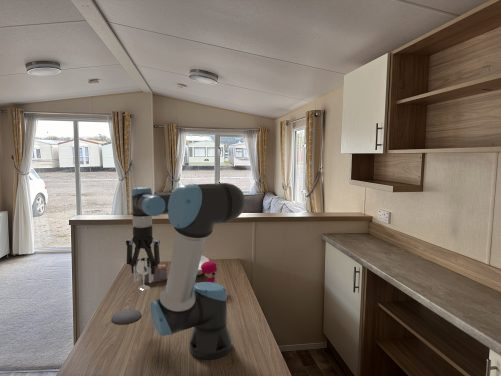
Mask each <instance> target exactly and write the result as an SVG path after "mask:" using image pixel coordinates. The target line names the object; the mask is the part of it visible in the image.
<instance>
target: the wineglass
mask: <svg viewBox="0 0 501 376" xmlns="http://www.w3.org/2000/svg"><path fill="white" fill-rule="evenodd" d="M149 267H150V263H149V259H148V257H140V258H138V259H137V263H136V271H137V273H138V275H141V279H142V278H143V283H142V285H140V286H139V287H138V288H137V290H139V291H146V290H148V289H150V286H149V285H146V284H145V283H144V279H145V276H144V275H146V274H148V273H149ZM142 275H143V276H142Z"/></svg>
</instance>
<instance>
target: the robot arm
mask: <svg viewBox="0 0 501 376" xmlns="http://www.w3.org/2000/svg"><path fill="white" fill-rule="evenodd" d="M131 204H132V207H131V210H132V225H133V227H132V239H131V238H130V239H127V240H126V241H125V244H126V264H127V265H130V266H131V274H133V283H136V282H138V281H139V274H138V273H137V271H136V263H137V260H138V259H139V255H140V252H141V249H143V250H144V251H145V252H146V256H147V258H148V259H149V263H150V267H149V283H148V284H151V283H153V282H152V281H153V274H155V266H157V265H160V263H161V260H160V259H161V258H160V257H161V256H160V244H161V243H160V242H161V241H160V240H156V239H154V237H153V225H152V224H153V217H158V216H160V215H162V214H167V217H168V221H169V223H170V224H171V226H172V228H173V230H174V231H175V232H176V236H175V240H174V245H173V250H172V254H171V261H170V265H169V266H170V267H169V270H168V274H167V279H166V286H165V287H164V288H162V290H161V291H160V294H159V298H158V299H154V300H152V301H151V302H150V306H149V307H150V315H151V319H152V323H153V326H154V329H155V331H156V333H157V334H158V335H160V336H162V337H165V336H170V335H171V336H172V335H174V334H177V333H180V332H182V331H186V330H188V329H191V328H193V329H192V333H191V336H190V340H189V344H188V347H189V352H190V354H191V355H193V357H195V358H198V359H203V360H214V359H215V360H216V359H219V358H222V357H224V356H226V355H227V354H228V353H230V351H231V349H232V338H231V334H230V331H229V329H228V327H227V323H228V322H227V315H228V314H227V307H228V306H227V304H228V303H227V301H228V296H227V295H228V294H227V290H226V288H225V286H223V285H222V284H219V283H217V282H214V283H212V282H207V281H202V282H197V283H196V280H197V276H198V275H197V272H198V268H199V263H200V259H201V255H202V254H203V250H204V247H205V242H206V238H208V237H210V236H211V235H212V234H213V230H214V226H215V224H220V223H227V222H231V221H234V220H235V219H237V218H238V217H240V215H242V214H243V212H244V210H245V206H246V197H245V194H244V192H243V191H242V190H241V189H240V188H239V187H238V186H236V185H235V184H233V183H229V182H228V183H227V182H220V183H219V182H218V183H217V182H216V183H215V182H214V183H202V184H201V183H198V184H197V183H188V184H184V185H183V184H182V185H179V186H177V187H175V188H174V189H173V191H172V192H171V193H161V194H160V193H159V194H153V191H152V188H151V187H145V186H143V187H134V188H132V190H131ZM133 245H135V246H134V247H133ZM152 246H153V250H152ZM133 248H134V252H133ZM202 256H203V255H202Z"/></svg>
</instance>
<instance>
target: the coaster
mask: <svg viewBox="0 0 501 376" xmlns="http://www.w3.org/2000/svg"><path fill="white" fill-rule="evenodd" d="M141 317H142V311H139V310H137V309H123V310H121V311H120V310H119V311H117V312H115V313H114V314H113V315H112V316H111V322H112V323H114V324H116V325H126V324H131V323H134V322H137V321H138V320H140V318H141Z"/></svg>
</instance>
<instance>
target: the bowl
mask: <svg viewBox="0 0 501 376" xmlns="http://www.w3.org/2000/svg"><path fill="white" fill-rule="evenodd" d="M208 261H210V260H209V258H208V257H206V256H205V255H201V259H200V263H199V268H198V272H197V276H200V275H202V274H203V273H202V269H201V265H202V264H203V263H205V262H208Z"/></svg>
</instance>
